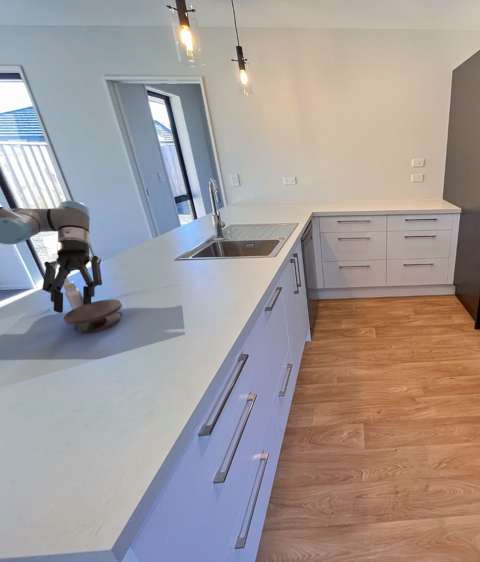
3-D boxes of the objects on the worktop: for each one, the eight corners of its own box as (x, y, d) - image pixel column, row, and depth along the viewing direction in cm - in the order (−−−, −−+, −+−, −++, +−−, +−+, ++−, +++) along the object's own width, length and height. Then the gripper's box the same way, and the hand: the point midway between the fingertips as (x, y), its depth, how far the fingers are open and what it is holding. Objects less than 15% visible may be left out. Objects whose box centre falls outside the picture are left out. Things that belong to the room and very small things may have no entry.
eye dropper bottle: (70, 318, 94) (52, 284, 89) (77, 310, 99) (60, 277, 94) (88, 315, 96) (71, 281, 91) (94, 307, 100) (78, 274, 95)
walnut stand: (66, 341, 83) (57, 326, 80) (76, 321, 93) (69, 307, 90) (124, 326, 89) (118, 312, 87) (128, 308, 99) (123, 295, 97)
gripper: (26, 242, 93) (21, 312, 86) (103, 234, 100) (104, 298, 93) (44, 253, 100) (41, 319, 93) (115, 245, 106) (117, 306, 99)
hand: (73, 308), depth 93 cm, fingers open, 6 cm apart
